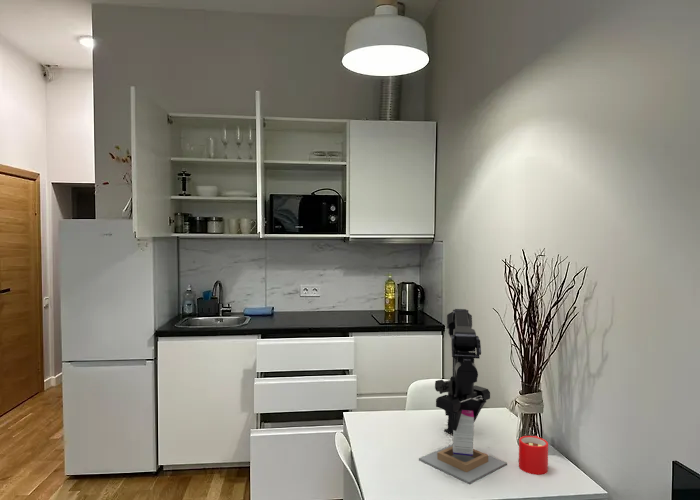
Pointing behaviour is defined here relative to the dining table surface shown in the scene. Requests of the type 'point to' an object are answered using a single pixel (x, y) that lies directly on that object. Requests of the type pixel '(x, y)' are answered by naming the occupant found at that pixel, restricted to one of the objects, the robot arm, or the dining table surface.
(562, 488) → the dining table surface
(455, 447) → the supplement box
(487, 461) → the holder
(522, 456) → the mug
